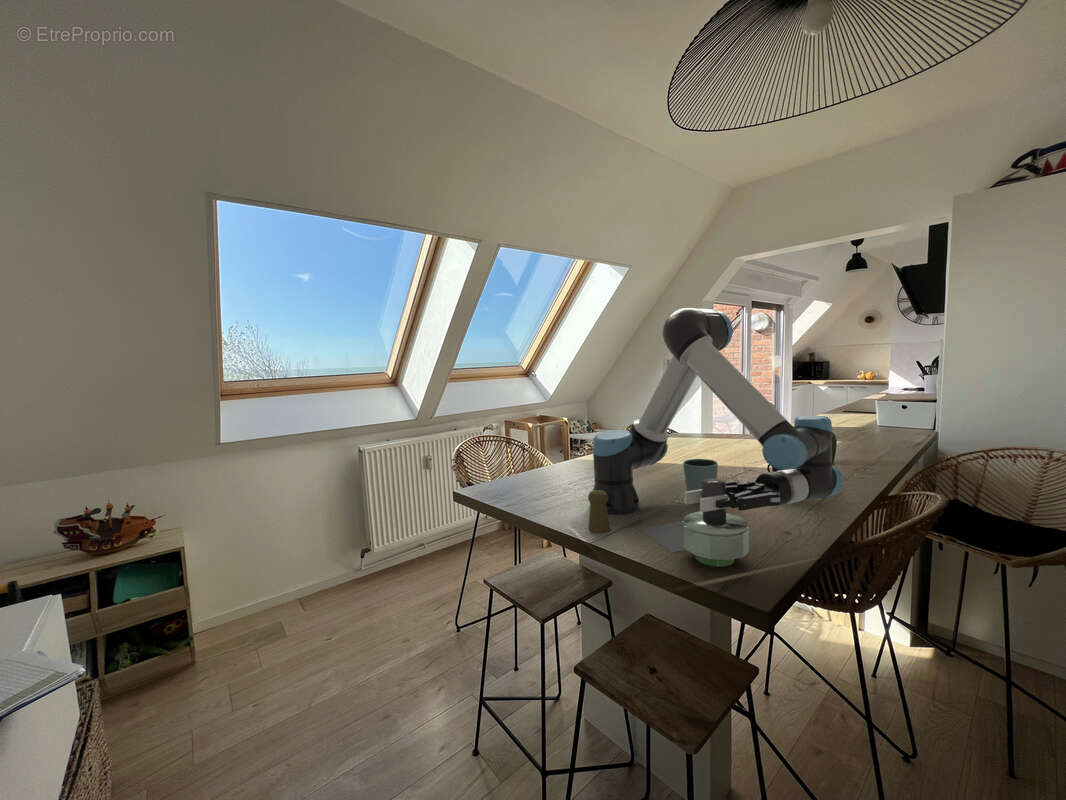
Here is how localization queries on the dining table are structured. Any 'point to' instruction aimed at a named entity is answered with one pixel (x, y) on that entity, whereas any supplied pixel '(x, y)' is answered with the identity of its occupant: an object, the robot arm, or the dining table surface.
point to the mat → (666, 535)
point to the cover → (715, 529)
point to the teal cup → (699, 472)
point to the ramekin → (714, 561)
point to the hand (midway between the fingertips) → (693, 501)
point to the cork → (598, 512)
